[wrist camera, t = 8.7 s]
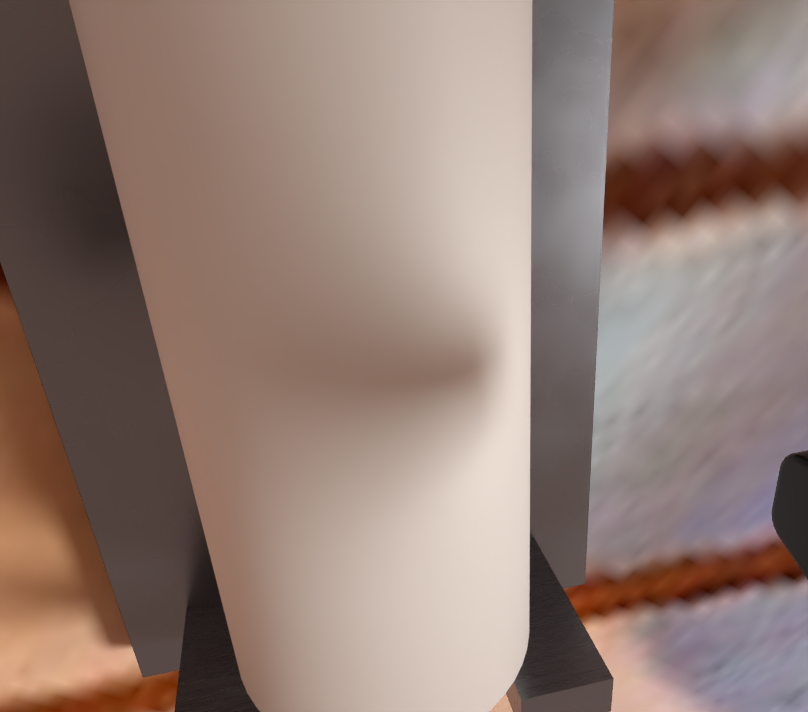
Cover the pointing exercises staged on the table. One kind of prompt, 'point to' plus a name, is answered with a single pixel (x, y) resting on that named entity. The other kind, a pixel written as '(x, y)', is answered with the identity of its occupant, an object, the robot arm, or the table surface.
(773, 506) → the robot arm
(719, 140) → the table surface
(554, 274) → the roll stand
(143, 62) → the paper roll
